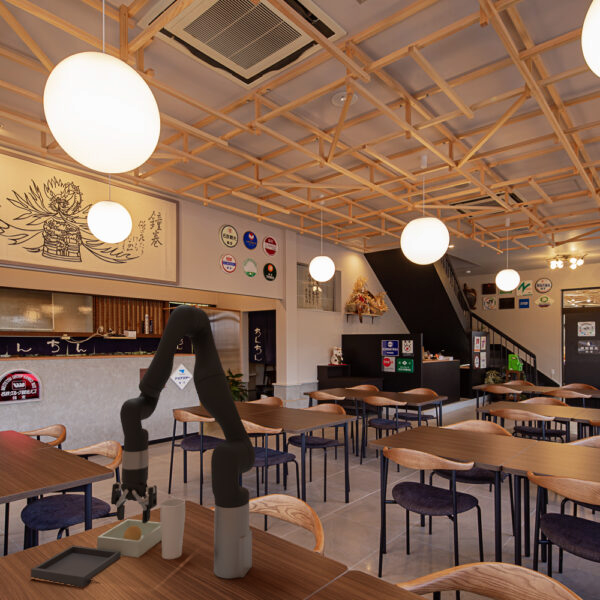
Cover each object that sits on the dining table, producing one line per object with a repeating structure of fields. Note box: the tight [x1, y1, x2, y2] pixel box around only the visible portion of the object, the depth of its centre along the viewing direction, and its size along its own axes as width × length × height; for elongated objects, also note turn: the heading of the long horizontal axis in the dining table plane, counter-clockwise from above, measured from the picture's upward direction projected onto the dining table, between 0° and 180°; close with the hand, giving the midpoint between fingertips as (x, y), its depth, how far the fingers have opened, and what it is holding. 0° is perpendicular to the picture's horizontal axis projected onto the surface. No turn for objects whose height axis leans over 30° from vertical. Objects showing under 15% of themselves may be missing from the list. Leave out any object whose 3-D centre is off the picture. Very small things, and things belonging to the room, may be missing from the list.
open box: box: [96, 518, 162, 558], centre depth 129 cm, size 14×14×5 cm
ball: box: [124, 526, 142, 541], centre depth 129 cm, size 5×5×5 cm
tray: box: [30, 545, 122, 589], centre depth 116 cm, size 16×14×2 cm
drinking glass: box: [159, 498, 186, 560], centre depth 123 cm, size 7×7×15 cm
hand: (133, 520), depth 130 cm, fingers open, 8 cm apart
